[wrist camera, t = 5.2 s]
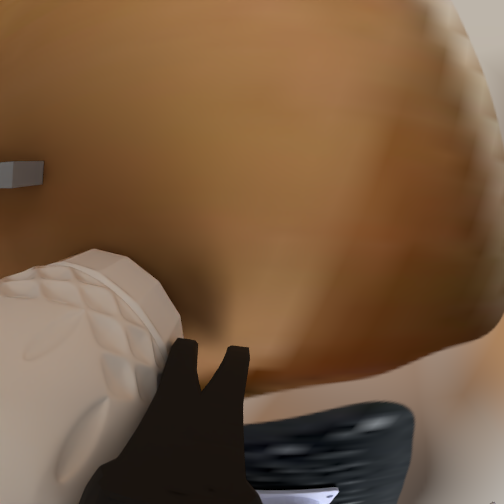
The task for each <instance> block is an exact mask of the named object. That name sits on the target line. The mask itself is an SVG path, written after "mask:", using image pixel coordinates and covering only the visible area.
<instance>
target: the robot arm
mask: <svg viewBox="0 0 504 504" xmlns="http://www.w3.org/2000/svg"><path fill="white" fill-rule="evenodd" d="M197 355H198V343H197V342H196V341H195V340H190V339H184V338H177V339H176V341H175V342H174V343H173V345H172V347H171V349H170V352H169V355H168V358H167V361H166V364H165V367H164V371H163V374H162V377H161V380H160V384H159V386H158V389H157V391H156V394H155V396H154V398H153V400H152V402H151V403H150V405H149V407H148V409H147V411H146V413H145V415H144V416H143V418H142V420H141V422H140V423H139V425H138V427H137V429H136V430H135V432H134V433H133V435H132V437H131V438H130V440H129V441H128V443H127V444H126V446H125V447H124V449H123V450H122V452H121V453H120V455H119V456H118V457H117V458H115V459H113V460H111V461H109V462H107V463H105V464H102V465H101V466H99V468H98V469H97V470H96V472H95V473H94V474H93V476H92V477H91V479H90V480H89V482H88V483H87V485H86V487H85V489H84V491H83V494H82V496H81V499H80V501H79V504H329V503H330V502H331V501H332V499H333V498H334V497H335V496H336V495H337V493H338V492H339V490H338V488H337V487H329V488H318V489H303V490H255V489H254V488H253V487H252V486H251V485H250V484H249V482H248V481H247V480H246V474H245V457H244V433H243V401H244V393H245V387H246V380H247V374H248V367H249V361H250V355H249V348H248V347H240V346H229V347H228V348H227V352H226V354H225V357H224V359H223V361H222V363H221V364H220V366H219V368H218V369H217V371H216V373H215V374H214V376H213V377H212V379H211V380H210V382H209V383H208V384H207V385H206V387H205V388H204V389H203V390H202V392H201V389H200V385H199V380H198V374H197ZM490 504H495V502H492V503H490Z"/></svg>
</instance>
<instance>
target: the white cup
mask: <svg viewBox="0 0 504 504" xmlns="http://www.w3.org/2000/svg"><path fill="white" fill-rule="evenodd" d="M177 338H184V337H183V331H182V324H181V317H180V314H179V313H178V311H177V309H176V308H175V306H174V305H173V303H172V302H171V300H170V298H169V297H168V295H167V293H166V292H165V290H164V289H163V287H162V285H161V284H160V282H159V281H158V280H157V279H156V278H154V277H153V276H152V275H150V274H149V273H148V272H146V271H145V270H144V269H143V268H141V267H140V266H139V265H137V264H136V263H135V262H134V261H132V260H131V259H130V258H129V257H127V256H123V255H119V254H115V253H110V252H106V251H102V250H98V249H91V250H88V251H85V252H82V253H79V254H76V255H73V256H70V257H67V258H65V259H62V260H60V261H57V262H55V263H52V264H48V265H46V266H34V267H32V268H29V269H27V270H25V271H23V272H20V273H17V274H13V275H10V276H7V277H4V278H2V279H0V504H79V501H80V499H81V496H82V494H83V491H84V489H85V487H86V485H87V483H88V482H89V480H90V479H91V477H92V476H93V474H94V473H95V472H96V470H97V469H98V468H99V466H101V465H102V464H105V463H107V462H109V461H111V460H113V459H115V458H117V457H118V456H119V455H120V453H121V452H122V450H123V449H124V447H125V446H126V444H127V443H128V441H129V440H130V438H131V437H132V435H133V433H134V432H135V430H136V429H137V427H138V425H139V423H140V422H141V420H142V418H143V416H144V415H145V413H146V411H147V409H148V407H149V405H150V403H151V402H152V400H153V398H154V396H155V394H156V391H157V389H158V386H159V384H160V380H161V377H162V374H163V371H164V367H165V364H166V361H167V358H168V355H169V352H170V349H171V347H172V345H173V343H174V342H175V341H176V339H177Z"/></svg>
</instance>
